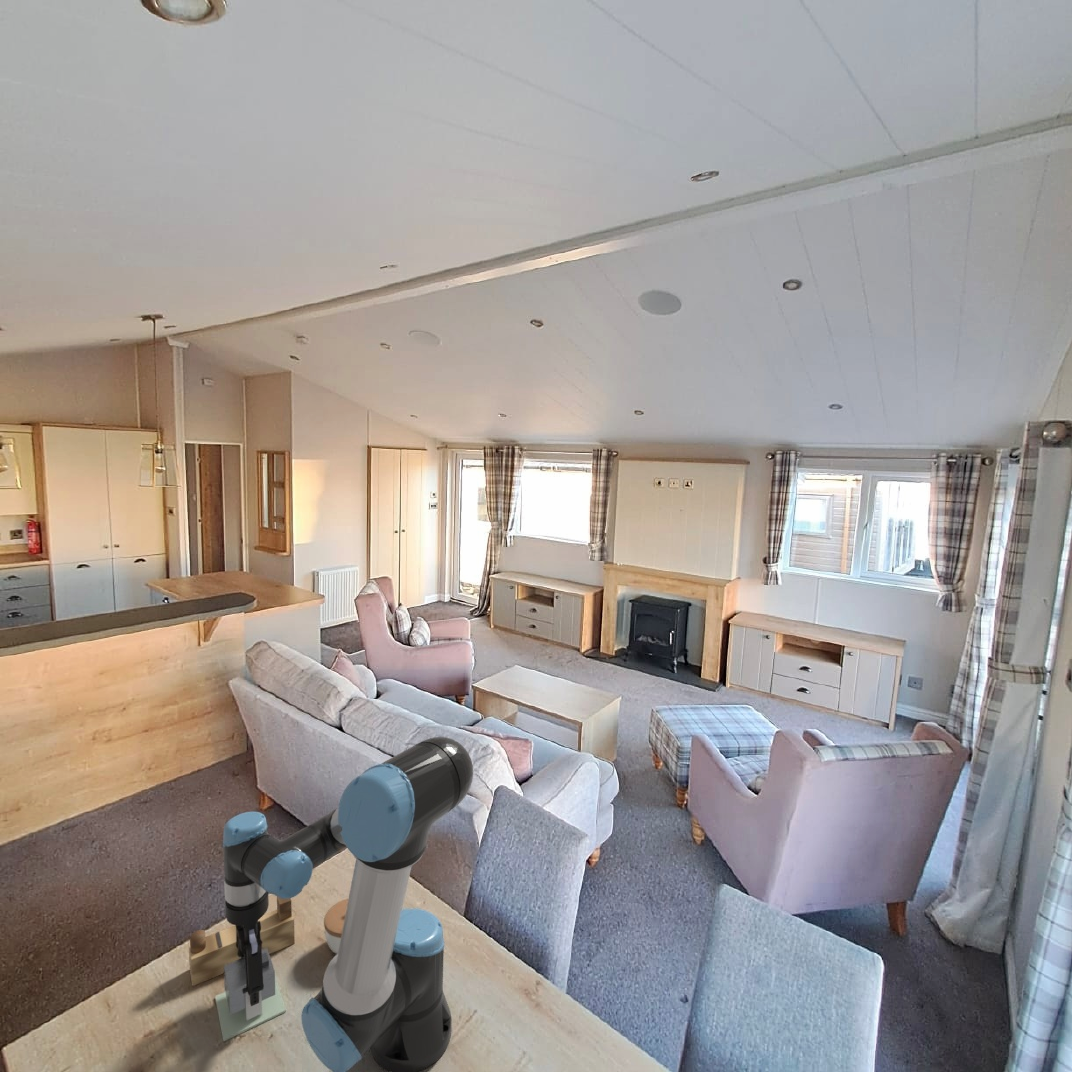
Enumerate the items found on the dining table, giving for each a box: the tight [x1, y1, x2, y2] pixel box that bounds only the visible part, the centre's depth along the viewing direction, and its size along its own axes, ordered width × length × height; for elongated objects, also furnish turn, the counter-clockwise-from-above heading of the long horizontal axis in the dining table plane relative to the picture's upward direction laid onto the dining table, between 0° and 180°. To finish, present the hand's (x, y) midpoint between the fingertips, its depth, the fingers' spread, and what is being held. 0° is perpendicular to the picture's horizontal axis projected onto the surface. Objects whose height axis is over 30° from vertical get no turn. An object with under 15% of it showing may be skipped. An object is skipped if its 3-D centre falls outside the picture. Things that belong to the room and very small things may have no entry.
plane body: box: [188, 896, 296, 987], centre depth 129 cm, size 20×5×10 cm, turn 125°
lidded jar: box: [323, 898, 349, 955], centre depth 132 cm, size 11×11×9 cm
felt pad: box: [214, 975, 287, 1042], centre depth 118 cm, size 11×11×1 cm
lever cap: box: [223, 948, 276, 1015], centre depth 117 cm, size 7×8×6 cm
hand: (250, 1000), depth 118 cm, fingers closed on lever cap, 7 cm apart
